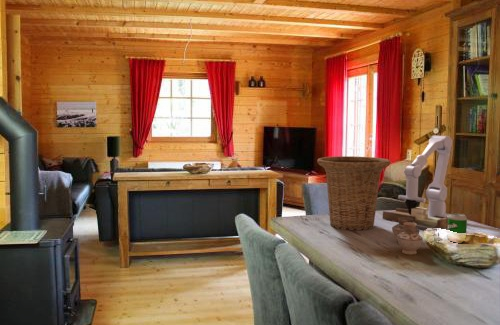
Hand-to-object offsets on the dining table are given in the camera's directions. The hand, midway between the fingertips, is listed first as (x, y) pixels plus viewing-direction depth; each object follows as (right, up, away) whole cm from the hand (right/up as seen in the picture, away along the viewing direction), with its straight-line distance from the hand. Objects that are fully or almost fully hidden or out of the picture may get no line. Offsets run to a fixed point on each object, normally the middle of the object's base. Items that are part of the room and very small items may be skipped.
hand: (411, 214), depth 248 cm
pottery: (-19, -9, -50) cm, 54 cm away
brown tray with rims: (+2, -4, -2) cm, 5 cm away
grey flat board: (+8, -4, -8) cm, 12 cm away
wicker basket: (-33, -5, -11) cm, 35 cm away
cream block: (+3, -1, -3) cm, 5 cm away
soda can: (+6, -8, -41) cm, 42 cm away
